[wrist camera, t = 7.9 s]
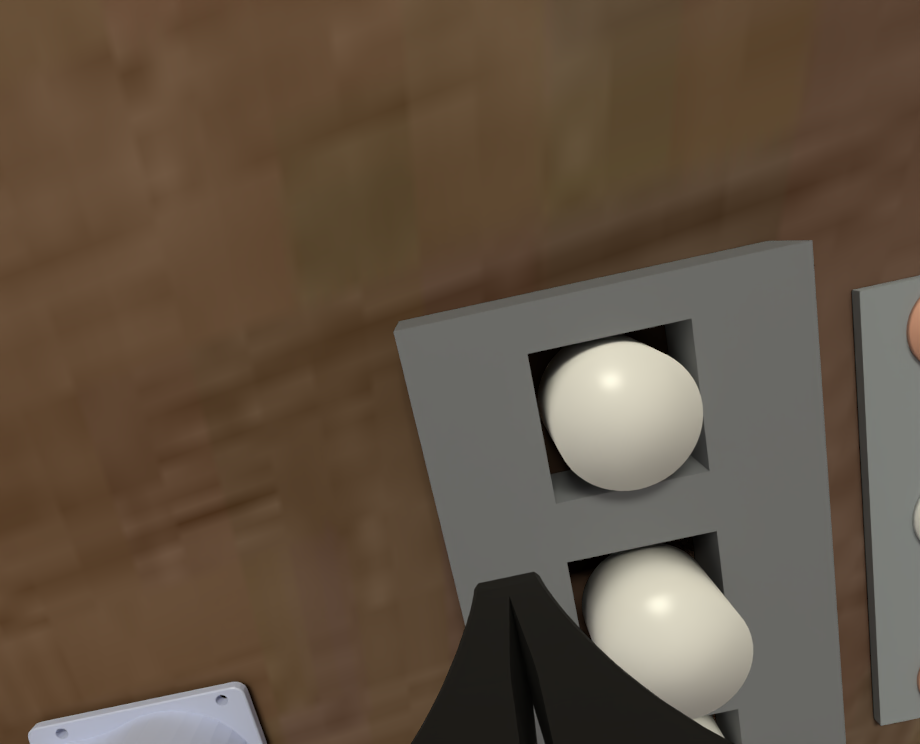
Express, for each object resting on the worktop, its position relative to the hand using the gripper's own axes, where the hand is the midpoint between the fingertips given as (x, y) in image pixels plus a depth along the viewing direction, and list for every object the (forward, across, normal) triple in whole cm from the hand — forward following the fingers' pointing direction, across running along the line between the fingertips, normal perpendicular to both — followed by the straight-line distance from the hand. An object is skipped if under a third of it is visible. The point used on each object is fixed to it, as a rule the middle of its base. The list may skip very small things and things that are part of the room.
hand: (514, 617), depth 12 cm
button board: (+10, -5, +7) cm, 13 cm away
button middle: (+9, -5, +7) cm, 12 cm away
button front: (+10, -5, -1) cm, 11 cm away
